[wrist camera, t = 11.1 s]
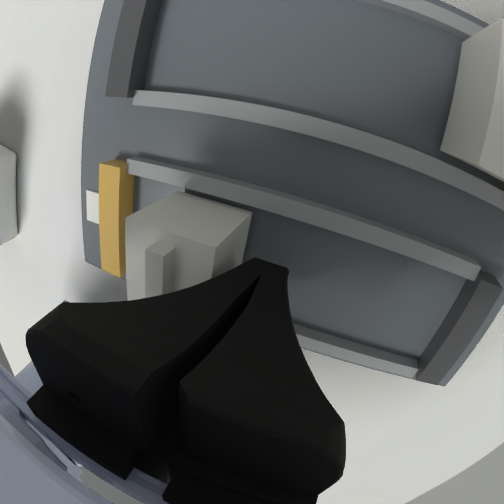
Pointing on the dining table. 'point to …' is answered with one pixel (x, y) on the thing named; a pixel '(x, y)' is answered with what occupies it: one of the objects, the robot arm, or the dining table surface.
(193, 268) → the tab
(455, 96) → the tab
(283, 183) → the switch board
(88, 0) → the dining table surface
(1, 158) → the medicine bottle
